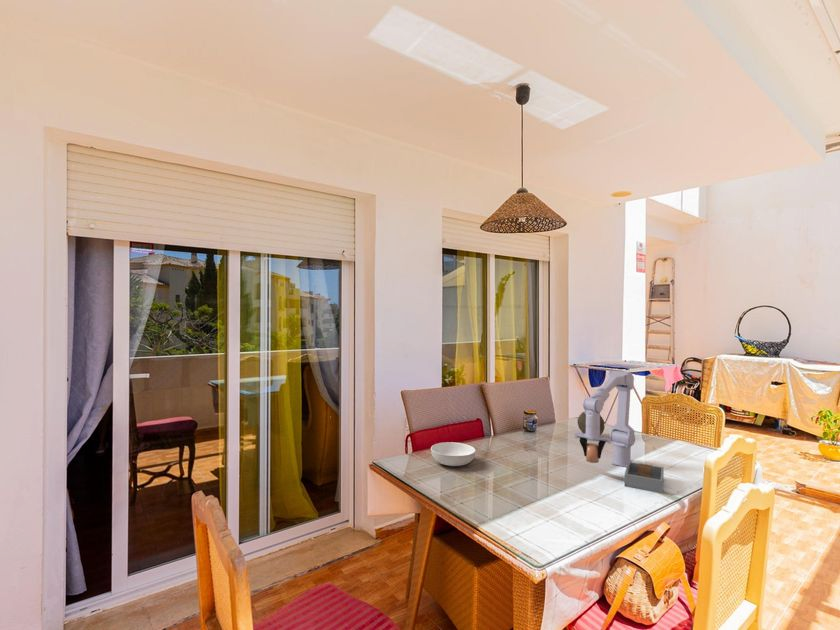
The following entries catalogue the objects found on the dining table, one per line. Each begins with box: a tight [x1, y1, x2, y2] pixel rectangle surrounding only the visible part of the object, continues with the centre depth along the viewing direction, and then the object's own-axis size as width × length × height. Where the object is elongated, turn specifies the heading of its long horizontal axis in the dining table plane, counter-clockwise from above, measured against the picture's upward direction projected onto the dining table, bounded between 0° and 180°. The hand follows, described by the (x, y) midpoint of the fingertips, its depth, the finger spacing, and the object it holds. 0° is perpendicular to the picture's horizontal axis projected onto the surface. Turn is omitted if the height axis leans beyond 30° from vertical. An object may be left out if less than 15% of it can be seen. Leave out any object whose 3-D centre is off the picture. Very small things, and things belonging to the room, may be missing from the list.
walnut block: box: [638, 462, 653, 478], centre depth 183 cm, size 5×5×5 cm
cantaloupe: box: [576, 411, 605, 436], centre depth 246 cm, size 14×14×15 cm
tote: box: [624, 461, 665, 494], centre depth 180 cm, size 18×14×5 cm
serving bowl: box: [430, 441, 477, 467], centre depth 201 cm, size 21×21×7 cm
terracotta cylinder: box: [585, 442, 600, 464], centre depth 187 cm, size 5×5×7 cm
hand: (592, 456), depth 187 cm, fingers closed on terracotta cylinder, 5 cm apart
